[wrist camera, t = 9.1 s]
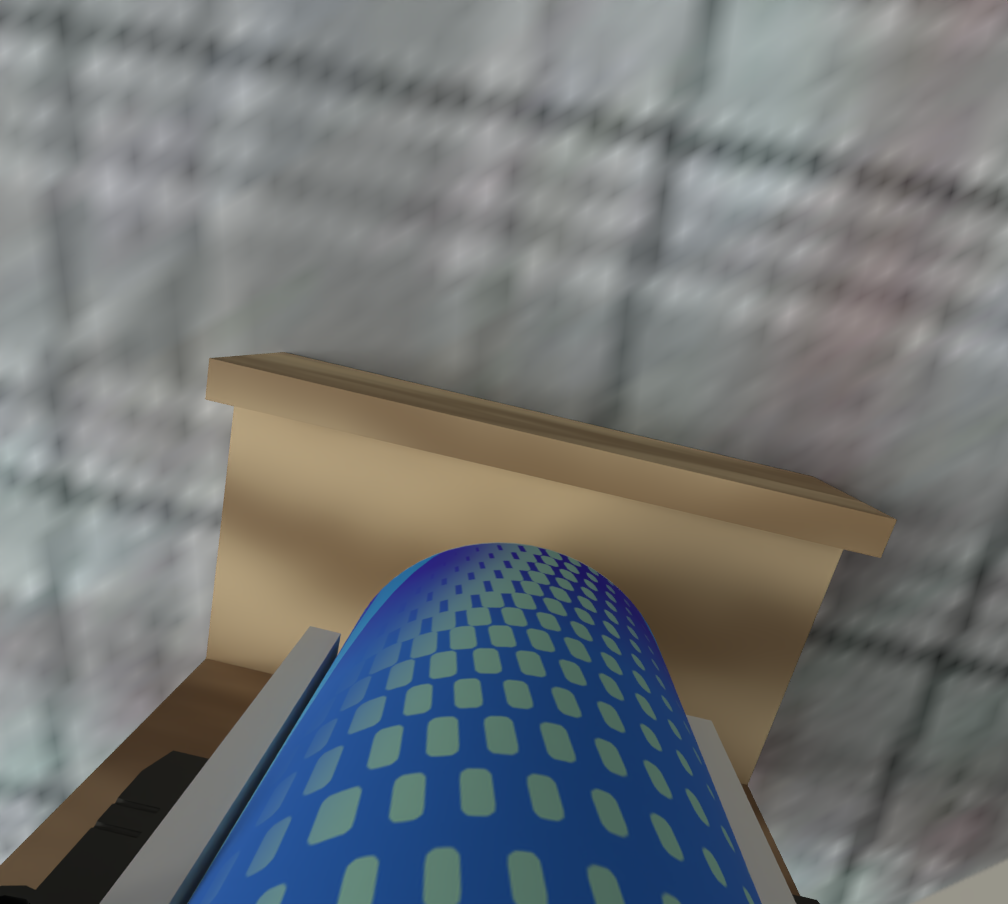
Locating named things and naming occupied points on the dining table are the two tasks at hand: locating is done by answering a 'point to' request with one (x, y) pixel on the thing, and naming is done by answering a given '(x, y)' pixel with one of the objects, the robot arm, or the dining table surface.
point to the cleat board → (472, 520)
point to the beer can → (488, 756)
